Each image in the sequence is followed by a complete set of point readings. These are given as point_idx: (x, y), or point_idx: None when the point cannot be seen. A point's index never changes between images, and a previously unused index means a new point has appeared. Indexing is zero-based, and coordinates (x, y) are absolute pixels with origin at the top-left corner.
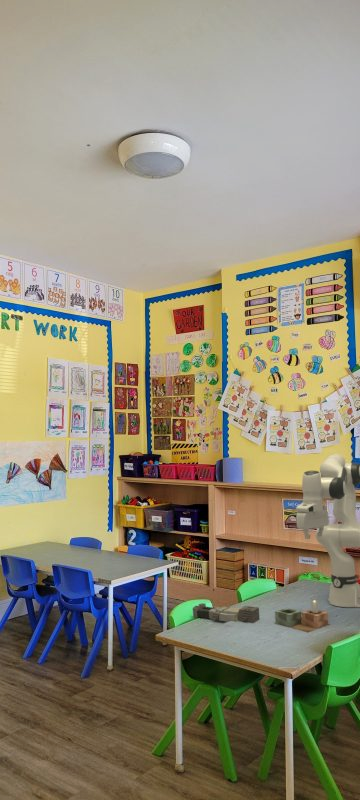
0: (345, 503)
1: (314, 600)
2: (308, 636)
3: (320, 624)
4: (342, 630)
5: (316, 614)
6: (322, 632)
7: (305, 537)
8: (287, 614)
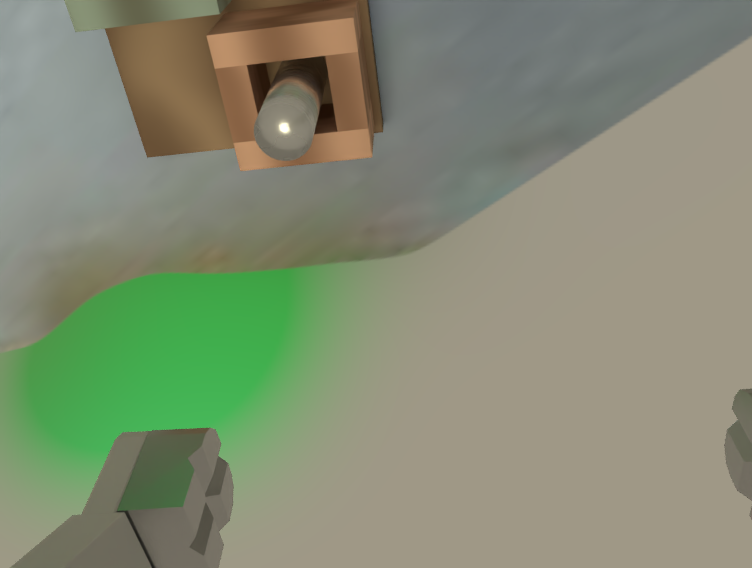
0: None
1: (282, 133)
2: None
3: None
4: (401, 196)
5: None
6: None
7: (118, 460)
8: (67, 7)
